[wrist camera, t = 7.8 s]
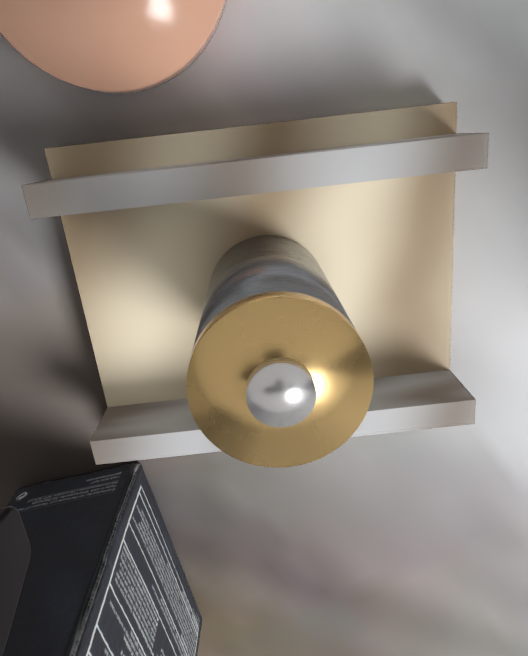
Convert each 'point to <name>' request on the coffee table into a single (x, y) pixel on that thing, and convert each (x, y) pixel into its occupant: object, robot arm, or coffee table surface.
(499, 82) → the coffee table surface
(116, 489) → the small box
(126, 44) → the dish
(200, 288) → the cradle
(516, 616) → the coffee table surface
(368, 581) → the coffee table surface
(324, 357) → the cell
